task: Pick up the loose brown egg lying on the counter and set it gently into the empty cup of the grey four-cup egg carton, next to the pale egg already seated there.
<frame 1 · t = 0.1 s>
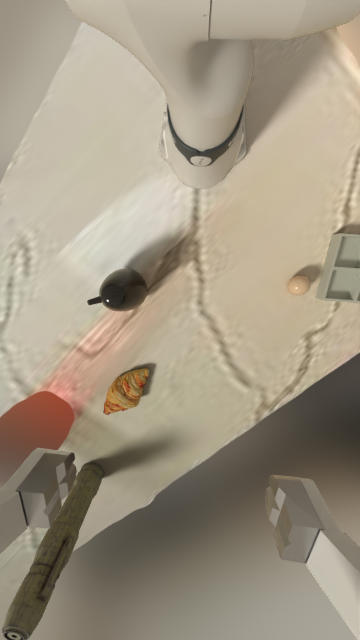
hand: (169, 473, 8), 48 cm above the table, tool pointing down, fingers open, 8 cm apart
carton: (355, 269, 50), on the table
thermos: (92, 471, 77), on the table
brown egg: (294, 284, 52), on the table
croissant: (128, 387, 65), on the table
pump dispenser: (131, 287, 55), on the table
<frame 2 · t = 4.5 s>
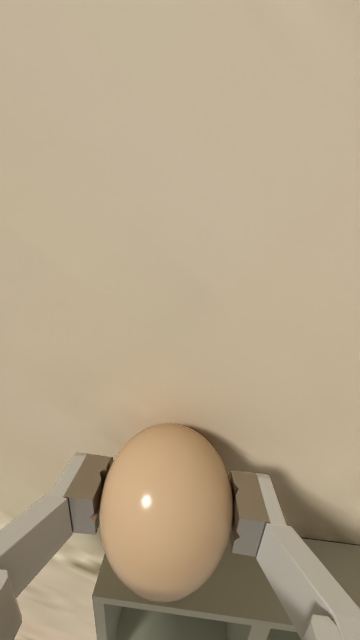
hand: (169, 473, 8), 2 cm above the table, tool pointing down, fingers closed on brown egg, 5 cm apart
carton: (228, 602, 14), on the table
brown egg: (173, 440, 10), on the table, touching gripper
when the fingers open (4 cm above the table, at t = 9.5 s): brown egg drops 2 cm, resting on carton.
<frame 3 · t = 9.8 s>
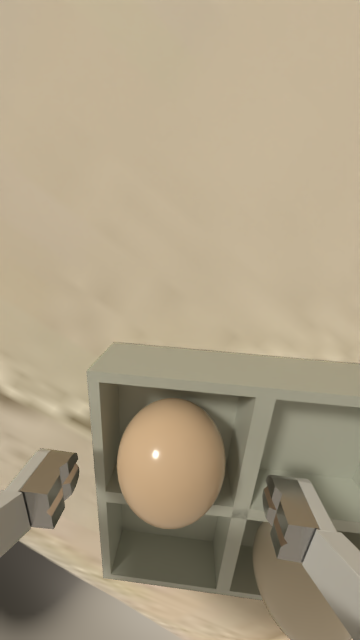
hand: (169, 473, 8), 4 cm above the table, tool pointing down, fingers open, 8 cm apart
carton: (230, 458, 13), on the table
pale egg: (281, 518, 13), point 1 cm above the table, touching carton
brown egg: (176, 415, 12), point 1 cm above the table, touching carton
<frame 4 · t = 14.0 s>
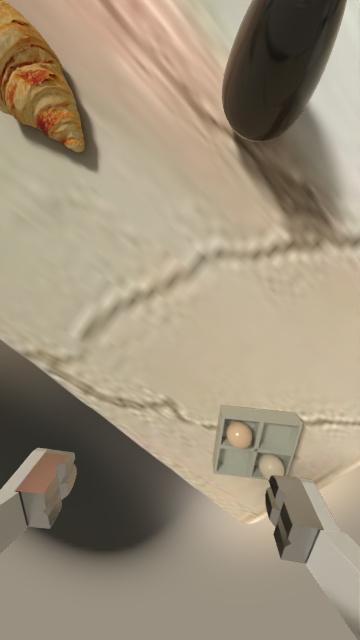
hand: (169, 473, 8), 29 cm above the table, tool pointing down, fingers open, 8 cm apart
carton: (251, 437, 44), on the table
pale egg: (267, 456, 44), point 1 cm above the table, touching carton
brown egg: (237, 425, 42), point 1 cm above the table, touching carton
croissant: (34, 90, 29), on the table
pump dispenser: (256, 109, 28), on the table
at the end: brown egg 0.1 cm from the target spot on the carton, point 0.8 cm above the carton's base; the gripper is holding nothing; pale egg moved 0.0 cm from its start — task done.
